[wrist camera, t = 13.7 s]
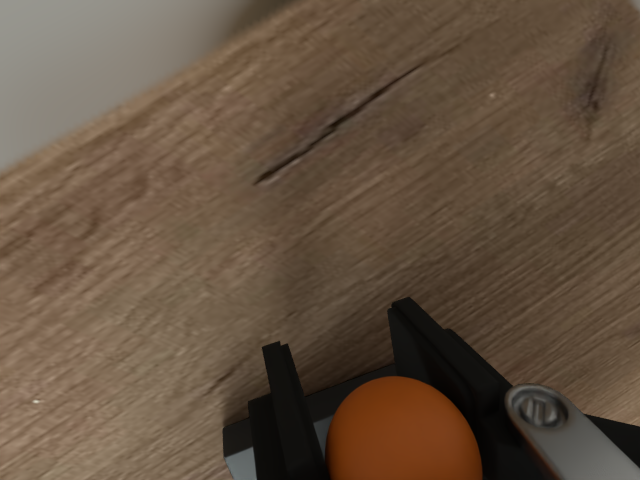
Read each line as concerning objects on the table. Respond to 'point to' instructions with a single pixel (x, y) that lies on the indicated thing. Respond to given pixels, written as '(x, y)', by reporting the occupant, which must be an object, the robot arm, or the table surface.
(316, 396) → the switch base
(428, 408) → the switch lever
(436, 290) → the table surface
